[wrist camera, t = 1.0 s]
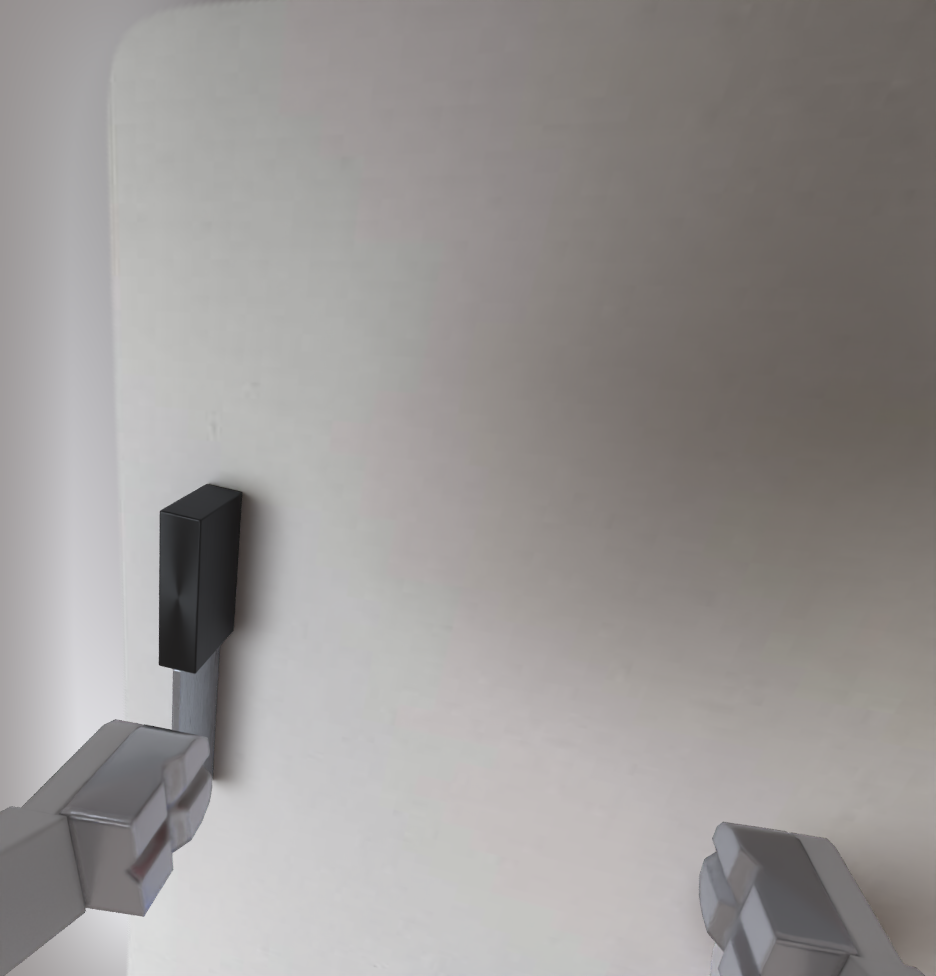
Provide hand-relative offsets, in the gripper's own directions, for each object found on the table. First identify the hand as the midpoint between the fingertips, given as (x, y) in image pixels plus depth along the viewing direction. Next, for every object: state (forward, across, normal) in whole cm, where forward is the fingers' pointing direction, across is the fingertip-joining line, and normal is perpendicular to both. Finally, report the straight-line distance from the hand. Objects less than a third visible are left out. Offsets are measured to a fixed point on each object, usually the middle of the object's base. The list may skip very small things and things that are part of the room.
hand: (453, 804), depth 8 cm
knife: (+16, +14, +12) cm, 24 cm away
